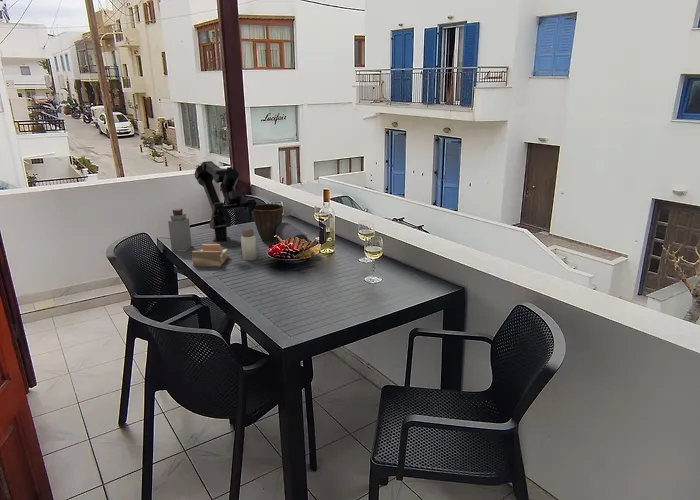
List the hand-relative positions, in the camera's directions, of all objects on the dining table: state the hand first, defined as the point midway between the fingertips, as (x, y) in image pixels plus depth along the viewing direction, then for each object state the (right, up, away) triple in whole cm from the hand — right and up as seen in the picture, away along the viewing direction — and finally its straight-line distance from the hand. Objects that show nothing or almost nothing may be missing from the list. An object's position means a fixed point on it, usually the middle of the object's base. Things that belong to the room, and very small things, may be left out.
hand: (240, 222), depth 200 cm
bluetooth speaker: (+21, -11, +12) cm, 26 cm away
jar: (+4, -15, -1) cm, 16 cm away
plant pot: (+8, -7, +25) cm, 27 cm away
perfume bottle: (-29, -11, +12) cm, 34 cm away
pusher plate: (-11, -16, -4) cm, 19 cm away
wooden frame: (-11, -16, -5) cm, 20 cm away
